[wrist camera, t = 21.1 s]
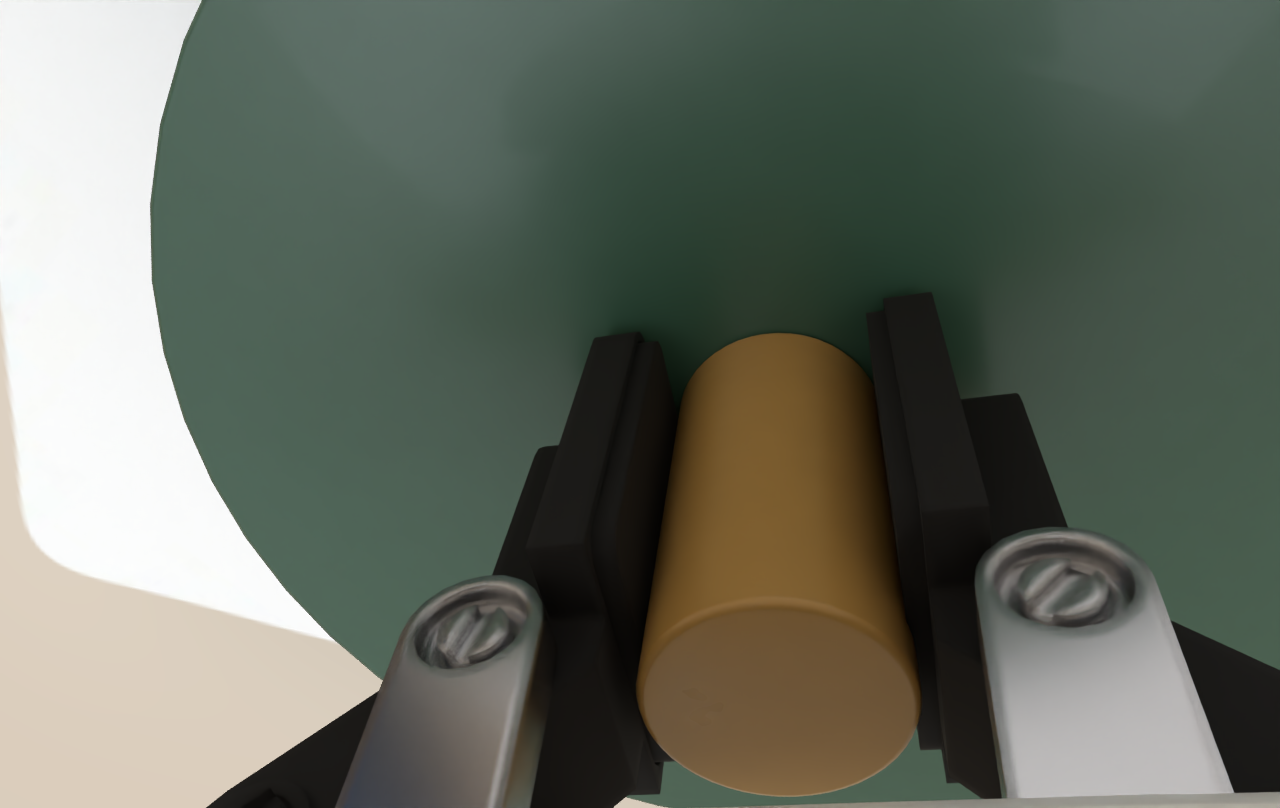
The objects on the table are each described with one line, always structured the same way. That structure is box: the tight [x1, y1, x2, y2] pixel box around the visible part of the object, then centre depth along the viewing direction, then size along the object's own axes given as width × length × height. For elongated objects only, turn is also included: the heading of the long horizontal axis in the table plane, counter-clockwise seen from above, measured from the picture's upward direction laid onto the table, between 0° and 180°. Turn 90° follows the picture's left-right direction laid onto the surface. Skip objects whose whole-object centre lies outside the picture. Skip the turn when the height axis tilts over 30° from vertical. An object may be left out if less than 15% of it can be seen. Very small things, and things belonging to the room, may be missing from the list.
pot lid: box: [150, 0, 1280, 808], centre depth 11 cm, size 16×16×6 cm
